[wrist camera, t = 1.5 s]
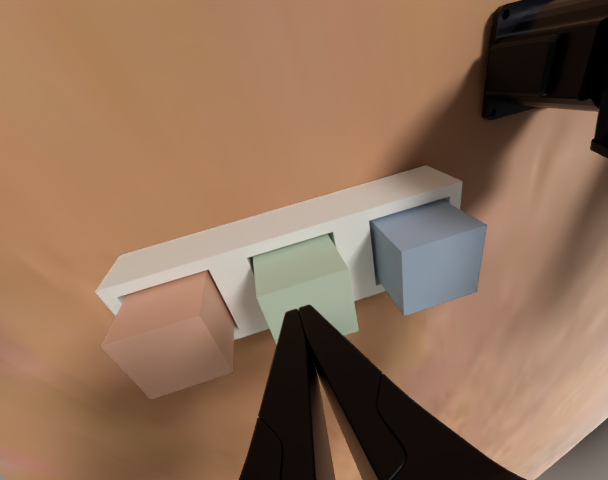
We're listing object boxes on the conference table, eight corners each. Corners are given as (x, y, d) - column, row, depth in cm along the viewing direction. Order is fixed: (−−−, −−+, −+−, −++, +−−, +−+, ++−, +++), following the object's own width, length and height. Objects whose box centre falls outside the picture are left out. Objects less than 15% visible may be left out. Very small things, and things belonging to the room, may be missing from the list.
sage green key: (323, 226, 19) (348, 268, 15) (334, 281, 21) (359, 331, 17) (251, 248, 18) (256, 297, 14) (272, 301, 21) (281, 356, 17)
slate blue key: (431, 193, 19) (487, 225, 15) (430, 251, 22) (476, 291, 18) (364, 214, 19) (401, 251, 15) (371, 270, 22) (404, 316, 17)
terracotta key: (207, 261, 18) (199, 315, 14) (234, 313, 21) (233, 372, 17) (132, 284, 18) (100, 346, 14) (168, 334, 21) (151, 399, 16)
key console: (426, 165, 21) (462, 181, 18) (424, 243, 25) (454, 268, 21) (119, 255, 19) (95, 291, 16) (168, 323, 23) (156, 365, 20)
